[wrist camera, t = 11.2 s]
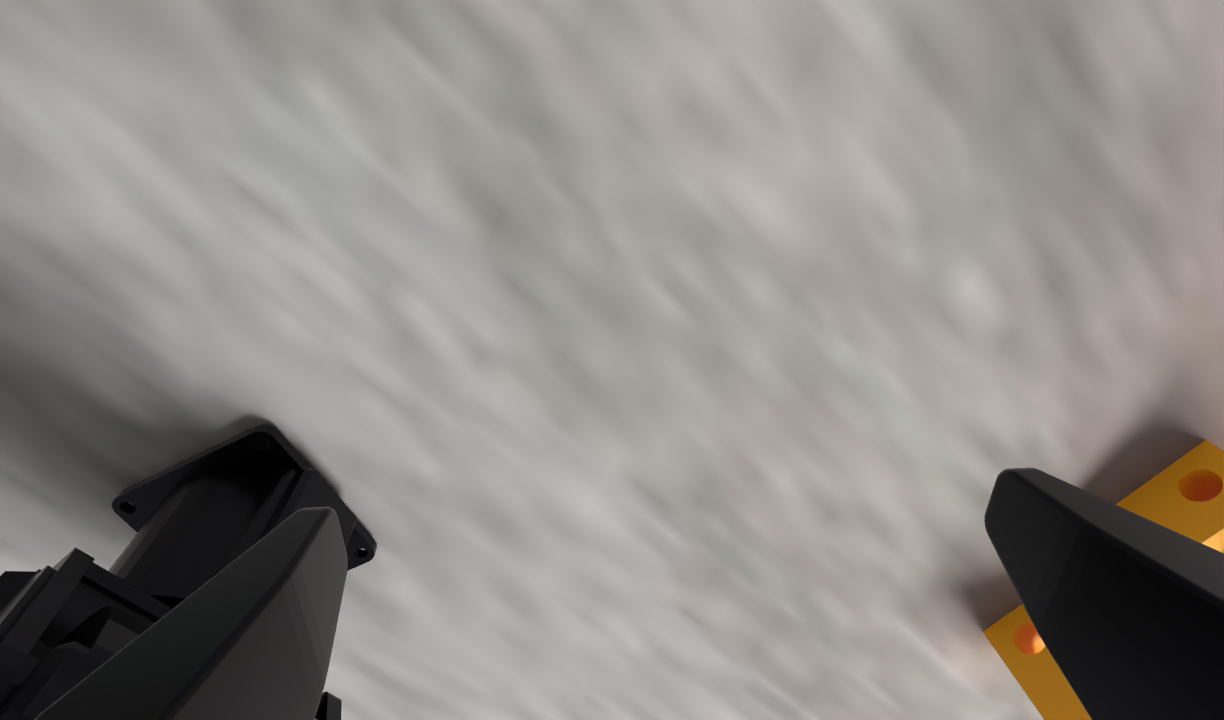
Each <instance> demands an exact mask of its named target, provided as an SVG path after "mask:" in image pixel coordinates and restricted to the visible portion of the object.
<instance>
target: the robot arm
mask: <svg viewBox="0 0 1224 720" xmlns="http://www.w3.org/2000/svg"><path fill="white" fill-rule="evenodd" d="M259 438H265V439H267V440H268V441H269V442H270V443H269V444H267V443H263V442H262V441H261V440H260V439H259ZM128 502H130V503H132V504H134V505H135V506H133V505H131V504H129V503H128ZM112 507H113V510H114V511H115V512H116V514H118V515H119V516H120V517H121V518H122V519H123V520H124V521H125V522H126V523H128V524H129V525H130V526H131V527H132V528H133V529H134V530H135V531H136V532H138V533H137V535H136V536H135V537H134V539H133V540H132V541H131V542H130V544H129V545H128V546H127V548H126V549H125V550H124V551H123V553H122V554H121V555H120V557H119V558H118V559H117V560H116V562H115V563H114V564H113V566H112V567H111V568H110V569H109V571H107V570H105V569H103V568H102V567H100V566H98V565H96V564H95V563H93V561H94V558H93V557H91V556H89V555H87V554H86V553H84V552H82V551H81V550H79V549H77V548H74V549H73V550H72V551H71V552H70V553H69V554H68V555H66V556H65V557H64V558H63V559H62V560H61V561H60V562H59V563H58V564H56V565H55V566H54V567H53V568H52V567H50V566H46V567H45V568H44V569H42V570H40V569H39V570H37V571H36V572H20V571H5V572H4V573H3V574H2V575H1V576H0V720H341V699H339V698H337V697H335V696H334V695H332V694H330V693H328V692H324V693H322V692H323V689H324V685H325V681H326V676H327V672H328V667H329V662H330V657H331V652H332V647H333V642H334V636H335V631H336V626H337V621H338V616H339V611H340V606H341V600H342V595H343V590H344V585H345V580H346V575H347V571H348V570H350V569H353V568H355V567H357V566H359V565H362V564H364V563H366V562H369V561H370V560H371V559H373V557H374V555H375V552H376V549H377V543H376V542H375V540H374V539H373V538H372V536H371V535H370V534H369V533H368V532H367V531H366V530H365V528H364V527H363V526H362V525H361V524H360V523H359V522H358V520H357V519H356V517H355V515H354V514H353V513H352V512H351V511H350V510H349V508H348V507H347V506H346V505H345V504H344V503H343V502H342V500H341V499H340V498H339V497H338V496H337V495H336V494H335V492H334V491H333V490H332V489H331V488H330V487H329V486H328V484H327V483H326V482H325V481H324V480H323V479H322V478H321V476H320V475H319V474H318V473H317V472H316V471H315V470H313V469H312V468H311V467H310V466H309V465H308V464H307V462H306V461H305V460H304V459H303V458H302V457H301V456H300V454H299V453H298V452H297V451H296V450H295V449H294V448H293V446H292V445H291V444H290V443H289V442H288V441H287V440H286V439H285V437H284V436H283V435H282V434H281V433H280V432H279V431H278V430H277V429H276V428H274V427H272V426H269V425H260V426H256V427H254V428H252V429H250V430H248V431H246V432H244V433H242V434H240V435H238V436H235V437H233V438H231V439H229V440H227V441H225V442H223V443H221V444H219V445H217V446H215V447H213V448H210V449H208V450H206V451H204V452H202V453H200V454H198V455H196V456H194V457H192V458H190V459H187V460H185V461H183V462H181V463H179V464H177V465H175V466H173V467H171V468H169V469H167V470H164V471H162V472H160V473H158V474H156V475H154V476H152V477H150V478H148V479H146V480H144V481H142V482H139V483H137V484H135V485H133V486H131V487H129V488H127V489H125V490H123V491H122V492H121V493H119V495H118V496H117V497H116V498H115V499H114V500H113V503H112ZM985 527H986V531H987V534H988V536H989V538H990V540H991V542H992V544H993V546H994V548H995V550H996V552H997V554H998V556H999V558H1000V560H1001V562H1002V564H1003V566H1004V568H1005V570H1006V572H1007V574H1008V576H1009V578H1010V580H1011V582H1012V584H1013V586H1014V588H1015V590H1016V592H1017V594H1018V596H1019V598H1020V600H1021V602H1022V604H1023V606H1024V608H1025V610H1026V612H1027V614H1028V616H1029V618H1030V620H1031V621H1032V623H1033V625H1034V627H1035V629H1036V631H1037V633H1038V634H1039V636H1040V638H1041V639H1042V641H1043V643H1044V644H1045V646H1046V648H1047V649H1048V651H1049V653H1050V654H1051V656H1052V657H1053V659H1054V661H1055V662H1056V664H1057V665H1058V667H1059V669H1060V670H1061V672H1062V673H1063V675H1064V677H1065V678H1066V680H1067V681H1068V683H1069V685H1070V686H1071V688H1072V689H1073V691H1074V693H1075V694H1076V696H1077V697H1078V699H1079V700H1080V702H1081V704H1082V705H1083V707H1084V708H1085V710H1086V712H1087V713H1088V715H1089V716H1090V718H1091V720H1224V553H1222V552H1220V551H1218V550H1215V549H1213V548H1211V547H1209V546H1207V545H1204V544H1202V543H1200V542H1198V541H1195V540H1193V539H1191V538H1189V537H1187V536H1184V535H1182V534H1180V533H1178V532H1176V531H1173V530H1171V529H1169V528H1167V527H1164V526H1162V525H1160V524H1158V523H1156V522H1153V521H1151V520H1149V519H1147V518H1144V517H1142V516H1140V515H1138V514H1136V513H1133V512H1131V511H1129V510H1127V509H1125V508H1122V507H1120V506H1118V505H1116V504H1113V503H1111V502H1109V501H1107V500H1105V499H1102V498H1100V497H1098V496H1096V495H1093V494H1091V493H1089V492H1087V491H1085V490H1082V489H1080V488H1078V487H1076V486H1073V485H1071V484H1069V483H1067V482H1065V481H1062V480H1060V479H1058V478H1056V477H1054V476H1051V475H1049V474H1047V473H1045V472H1042V471H1040V470H1038V469H1035V468H1013V469H1006V470H1003V471H1002V472H1001V473H1000V474H999V475H998V477H997V479H996V482H995V485H994V488H993V491H992V494H991V497H990V500H989V503H988V506H987V509H986V512H985ZM359 547H361V548H364V549H366V550H360V549H358V548H359Z"/></svg>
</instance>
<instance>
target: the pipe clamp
mask: <svg viewBox="0 0 1224 720" xmlns="http://www.w3.org/2000/svg"><path fill="white" fill-rule="evenodd" d="M1116 505H1118V506H1120V507H1122V508H1125V509H1127V510H1129V511H1131V512H1133V513H1136V514H1138V515H1140V516H1142V517H1144V518H1147V519H1149V520H1151V521H1153V522H1156V523H1158V524H1160V525H1162V526H1164V527H1167V528H1169V529H1171V530H1173V531H1176V532H1178V533H1180V534H1182V535H1184V536H1187V537H1189V538H1191V539H1193V540H1195V541H1198V542H1200V543H1202V544H1204V545H1207V546H1209V547H1211V548H1213V549H1215V550H1218V551H1220V552H1222V553H1224V451H1222V450H1221V449H1219V448H1218V447H1216V446H1215V445H1213V444H1211V443H1210V442H1208V441H1207V440H1205V441H1203V442H1202V443H1200V444H1199V445H1198V446H1196V447H1195V448H1193V449H1192V450H1191V451H1189V452H1188V453H1187V454H1185V455H1184V456H1182V457H1181V458H1180V459H1178V460H1177V461H1175V462H1174V463H1173V464H1171V465H1170V466H1169V467H1167V468H1166V469H1164V470H1163V471H1162V472H1160V473H1159V474H1157V475H1156V476H1155V477H1153V478H1152V479H1150V480H1149V481H1148V482H1146V483H1145V484H1144V485H1142V486H1141V487H1139V488H1138V489H1137V490H1135V491H1134V492H1132V493H1131V494H1130V495H1128V496H1127V497H1125V498H1124V499H1123V500H1121V501H1120V502H1119V503H1117V504H1116ZM983 633H984V634H985V636H986V637H987V638H988V640H989V641H990V643H991V644H992V646H993V647H994V648H995V650H996V651H997V653H998V654H999V656H1000V657H1001V658H1002V660H1003V661H1004V663H1005V664H1006V666H1007V667H1008V668H1009V670H1010V671H1011V673H1012V674H1013V676H1014V677H1015V678H1016V680H1017V681H1018V683H1019V684H1020V686H1021V687H1022V688H1023V690H1024V691H1025V693H1026V694H1027V696H1028V697H1029V698H1030V700H1031V701H1032V703H1033V704H1034V706H1035V707H1036V708H1037V710H1038V711H1039V713H1040V714H1041V716H1042V717H1043V718H1044V720H1091V718H1090V716H1089V715H1088V713H1087V712H1086V710H1085V708H1084V707H1083V705H1082V704H1081V702H1080V700H1079V699H1078V697H1077V696H1076V694H1075V693H1074V691H1073V689H1072V688H1071V686H1070V685H1069V683H1068V681H1067V680H1066V678H1065V677H1064V675H1063V673H1062V672H1061V670H1060V669H1059V667H1058V665H1057V664H1056V662H1055V661H1054V659H1053V657H1052V656H1051V654H1050V653H1049V651H1048V649H1047V648H1046V646H1045V644H1044V643H1043V641H1042V639H1041V638H1040V636H1039V634H1038V633H1037V631H1036V629H1035V627H1034V625H1033V623H1032V621H1031V620H1030V618H1029V616H1028V614H1027V612H1026V610H1025V608H1024V606H1023V604H1021V605H1020V606H1018V607H1017V608H1016V609H1014V610H1013V611H1011V612H1010V613H1008V614H1007V615H1006V616H1004V617H1003V618H1001V619H1000V620H999V621H997V622H996V623H994V624H993V625H991V626H990V627H989V628H987V629H986V630H984V631H983Z"/></svg>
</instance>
